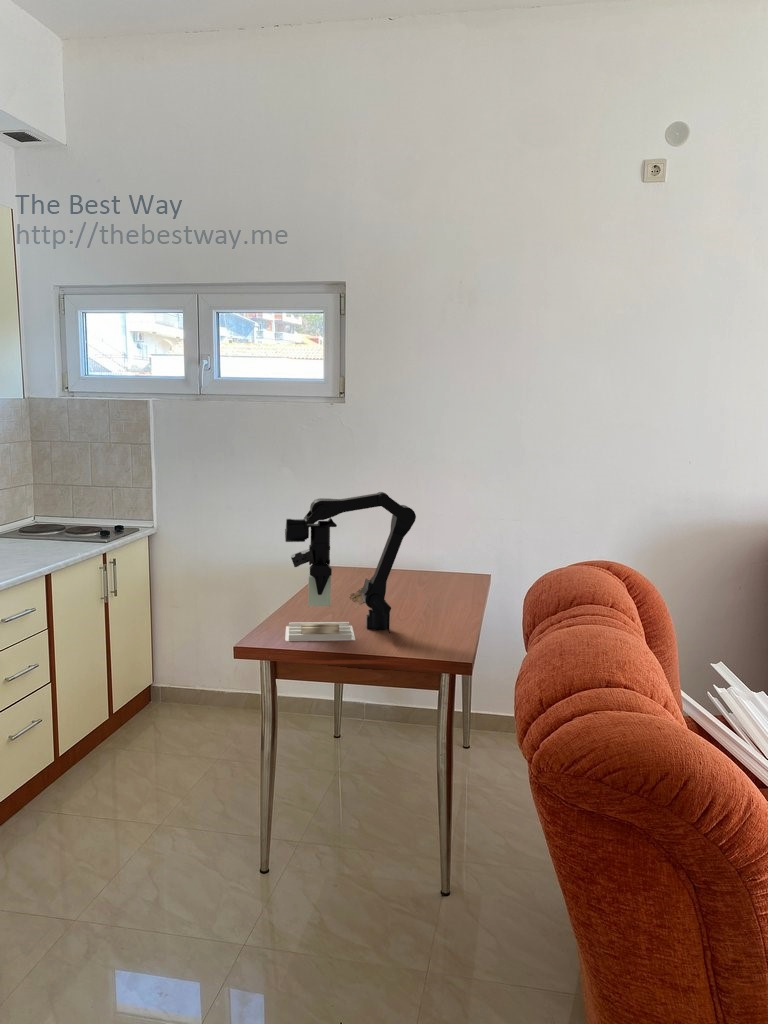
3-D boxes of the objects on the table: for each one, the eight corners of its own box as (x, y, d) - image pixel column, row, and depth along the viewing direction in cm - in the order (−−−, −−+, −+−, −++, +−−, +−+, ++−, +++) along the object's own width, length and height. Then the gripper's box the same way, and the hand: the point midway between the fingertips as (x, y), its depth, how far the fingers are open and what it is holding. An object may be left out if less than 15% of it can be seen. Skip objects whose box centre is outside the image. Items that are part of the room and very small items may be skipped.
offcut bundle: (338, 635, 229) (339, 624, 228) (339, 638, 226) (339, 626, 226) (300, 636, 228) (301, 624, 227) (301, 639, 225) (301, 627, 224)
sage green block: (330, 603, 235) (330, 574, 234) (330, 606, 233) (330, 576, 231) (308, 603, 235) (308, 574, 234) (308, 606, 232) (308, 576, 231)
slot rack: (351, 628, 240) (351, 620, 239) (355, 643, 225) (355, 635, 225) (286, 629, 238) (286, 621, 237) (285, 644, 223) (285, 635, 223)
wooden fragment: (362, 587, 296) (362, 584, 296) (390, 589, 294) (390, 587, 293) (340, 603, 272) (340, 600, 272) (370, 606, 269) (370, 603, 269)
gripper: (292, 536, 239) (292, 586, 241) (292, 547, 221) (292, 601, 223) (329, 536, 241) (328, 586, 243) (332, 547, 222) (331, 601, 224)
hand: (319, 593), depth 233 cm, fingers closed on sage green block, 3 cm apart
